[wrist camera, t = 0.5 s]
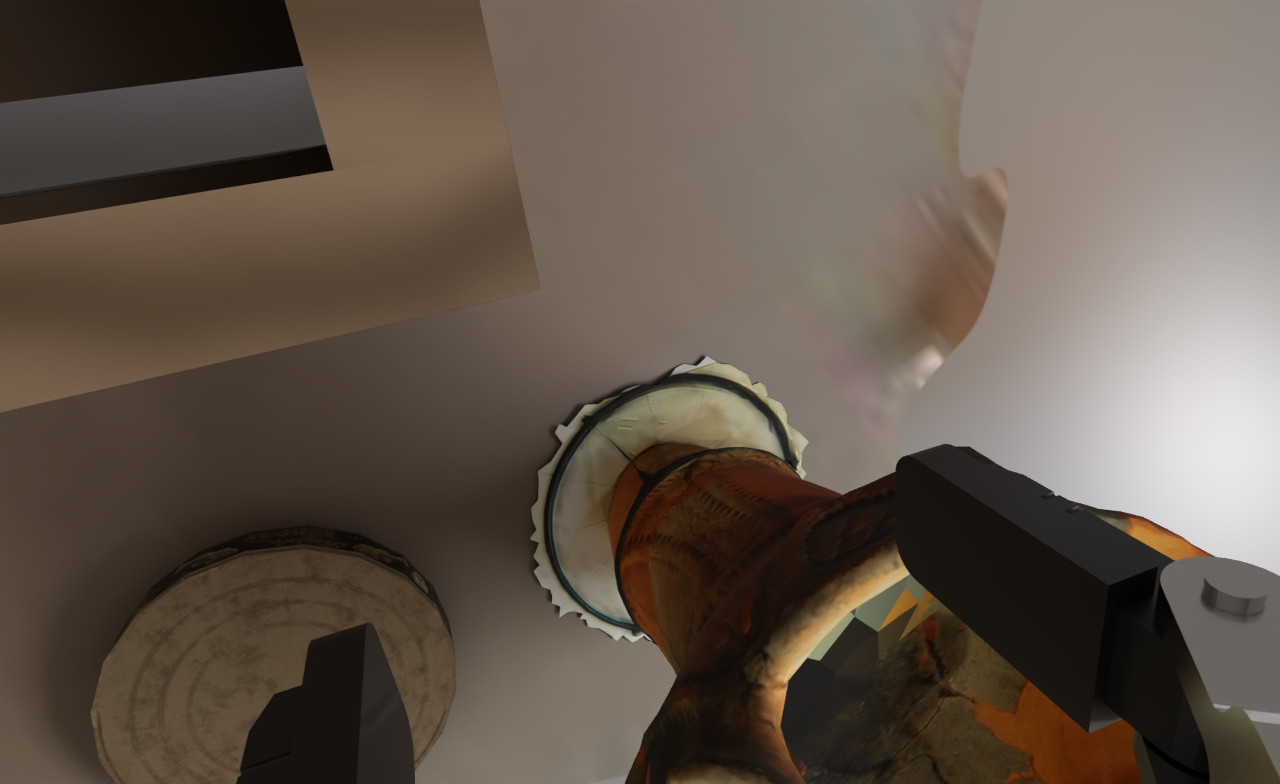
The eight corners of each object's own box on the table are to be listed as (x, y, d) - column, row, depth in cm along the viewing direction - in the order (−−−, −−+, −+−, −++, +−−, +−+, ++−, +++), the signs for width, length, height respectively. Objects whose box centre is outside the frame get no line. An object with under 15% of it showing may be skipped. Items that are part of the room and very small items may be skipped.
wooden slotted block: (-92, -157, 25) (-549, -515, 13) (375, -174, 30) (383, -448, 17) (110, 334, 31) (-66, 427, 18) (477, 257, 36) (540, 289, 23)
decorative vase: (411, 416, 36) (621, 892, 11) (793, 288, 43) (1442, 400, 18) (523, 734, 43) (808, 1468, 18) (836, 578, 50) (1349, 945, 25)
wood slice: (62, 574, 33) (35, 608, 30) (418, 488, 38) (423, 511, 35) (169, 841, 38) (154, 890, 35) (474, 734, 42) (482, 771, 40)
